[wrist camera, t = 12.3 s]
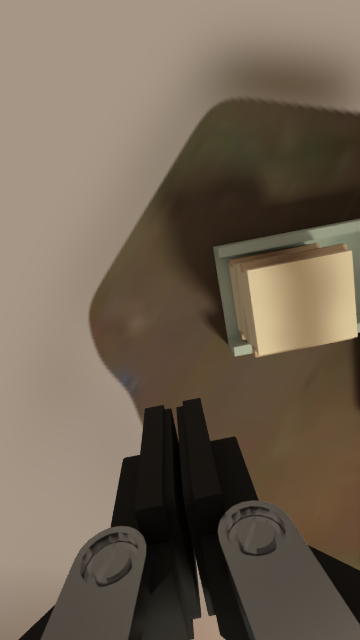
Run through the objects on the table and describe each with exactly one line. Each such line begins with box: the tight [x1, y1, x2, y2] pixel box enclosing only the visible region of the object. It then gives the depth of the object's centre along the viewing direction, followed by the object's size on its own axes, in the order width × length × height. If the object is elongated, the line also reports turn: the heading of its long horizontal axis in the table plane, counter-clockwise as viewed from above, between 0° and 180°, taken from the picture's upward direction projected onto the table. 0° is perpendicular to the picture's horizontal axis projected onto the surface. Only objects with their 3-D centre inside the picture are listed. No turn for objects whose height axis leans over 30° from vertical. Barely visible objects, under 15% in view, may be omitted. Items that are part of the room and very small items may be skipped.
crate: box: [228, 243, 358, 357], centre depth 27 cm, size 7×7×7 cm
